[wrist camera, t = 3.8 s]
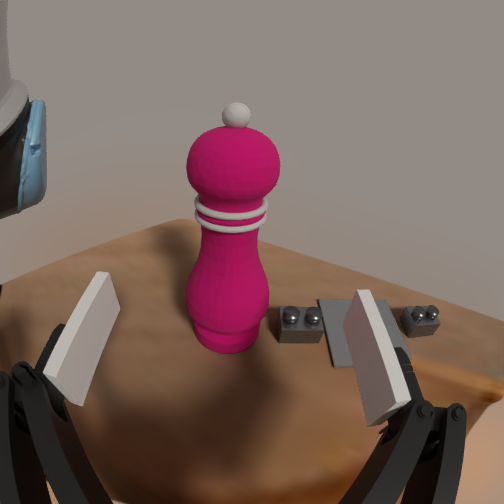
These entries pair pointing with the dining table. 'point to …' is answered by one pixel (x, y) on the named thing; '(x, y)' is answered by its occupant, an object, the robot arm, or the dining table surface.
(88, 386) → the robot arm
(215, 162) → the pepper mill
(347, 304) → the plate
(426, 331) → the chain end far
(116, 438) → the dining table surface
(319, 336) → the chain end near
